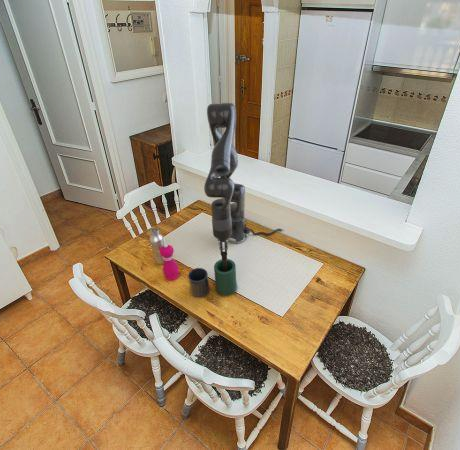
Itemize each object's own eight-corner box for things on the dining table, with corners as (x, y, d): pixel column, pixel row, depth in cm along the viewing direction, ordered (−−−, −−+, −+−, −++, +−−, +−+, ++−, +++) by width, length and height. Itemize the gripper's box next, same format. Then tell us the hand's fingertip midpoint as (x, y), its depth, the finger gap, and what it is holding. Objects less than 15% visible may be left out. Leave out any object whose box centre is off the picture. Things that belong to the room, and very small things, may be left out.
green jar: (228, 277, 150) (226, 255, 141) (240, 289, 144) (239, 266, 136) (212, 287, 145) (209, 265, 137) (224, 299, 139) (222, 277, 131)
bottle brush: (226, 277, 144) (224, 239, 131) (232, 282, 142) (230, 244, 128) (219, 281, 142) (216, 243, 129) (225, 286, 140) (222, 248, 126)
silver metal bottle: (165, 267, 156) (158, 235, 144) (152, 265, 157) (144, 233, 145) (170, 258, 161) (164, 226, 149) (158, 256, 162) (150, 225, 150)
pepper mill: (182, 272, 153) (176, 240, 141) (175, 283, 147) (168, 250, 135) (169, 269, 155) (162, 237, 143) (161, 279, 149) (153, 247, 137)
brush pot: (202, 280, 148) (200, 265, 142) (213, 291, 143) (211, 275, 137) (187, 289, 144) (184, 274, 138) (197, 300, 139) (194, 285, 133)
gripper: (232, 235, 117) (234, 268, 128) (230, 213, 128) (232, 246, 139) (212, 236, 117) (215, 269, 127) (212, 214, 128) (215, 247, 138)
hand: (224, 257), depth 133 cm, fingers closed on bottle brush
